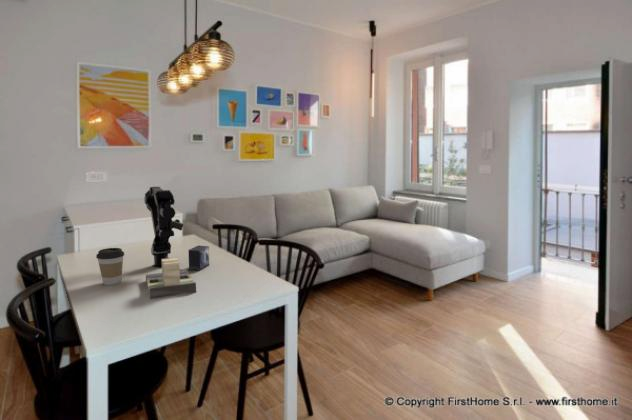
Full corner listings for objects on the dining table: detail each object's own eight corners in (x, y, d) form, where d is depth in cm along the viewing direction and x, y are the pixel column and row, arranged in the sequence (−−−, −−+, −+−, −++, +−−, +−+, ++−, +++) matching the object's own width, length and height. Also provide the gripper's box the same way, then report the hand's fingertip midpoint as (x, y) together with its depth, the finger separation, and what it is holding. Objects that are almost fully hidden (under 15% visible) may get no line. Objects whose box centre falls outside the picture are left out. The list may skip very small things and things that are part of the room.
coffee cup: (132, 280, 185) (130, 248, 183) (112, 288, 174) (109, 254, 172) (112, 277, 188) (110, 246, 186) (92, 285, 178) (89, 252, 176)
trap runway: (145, 281, 184) (145, 272, 183) (186, 275, 191) (186, 267, 191) (150, 298, 161) (149, 289, 161) (196, 292, 169) (195, 282, 169)
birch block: (162, 281, 174) (161, 258, 172) (177, 279, 176) (176, 257, 175) (165, 287, 166) (163, 264, 164) (180, 285, 168) (179, 262, 167)
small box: (200, 271, 199) (199, 250, 198) (188, 270, 200) (187, 249, 199) (210, 265, 209) (209, 245, 208) (198, 264, 211) (197, 245, 209)
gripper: (184, 217, 189) (186, 250, 192) (179, 212, 206) (180, 242, 208) (159, 219, 185) (161, 252, 187) (155, 214, 201) (157, 244, 203)
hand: (165, 247), depth 196 cm, fingers closed
